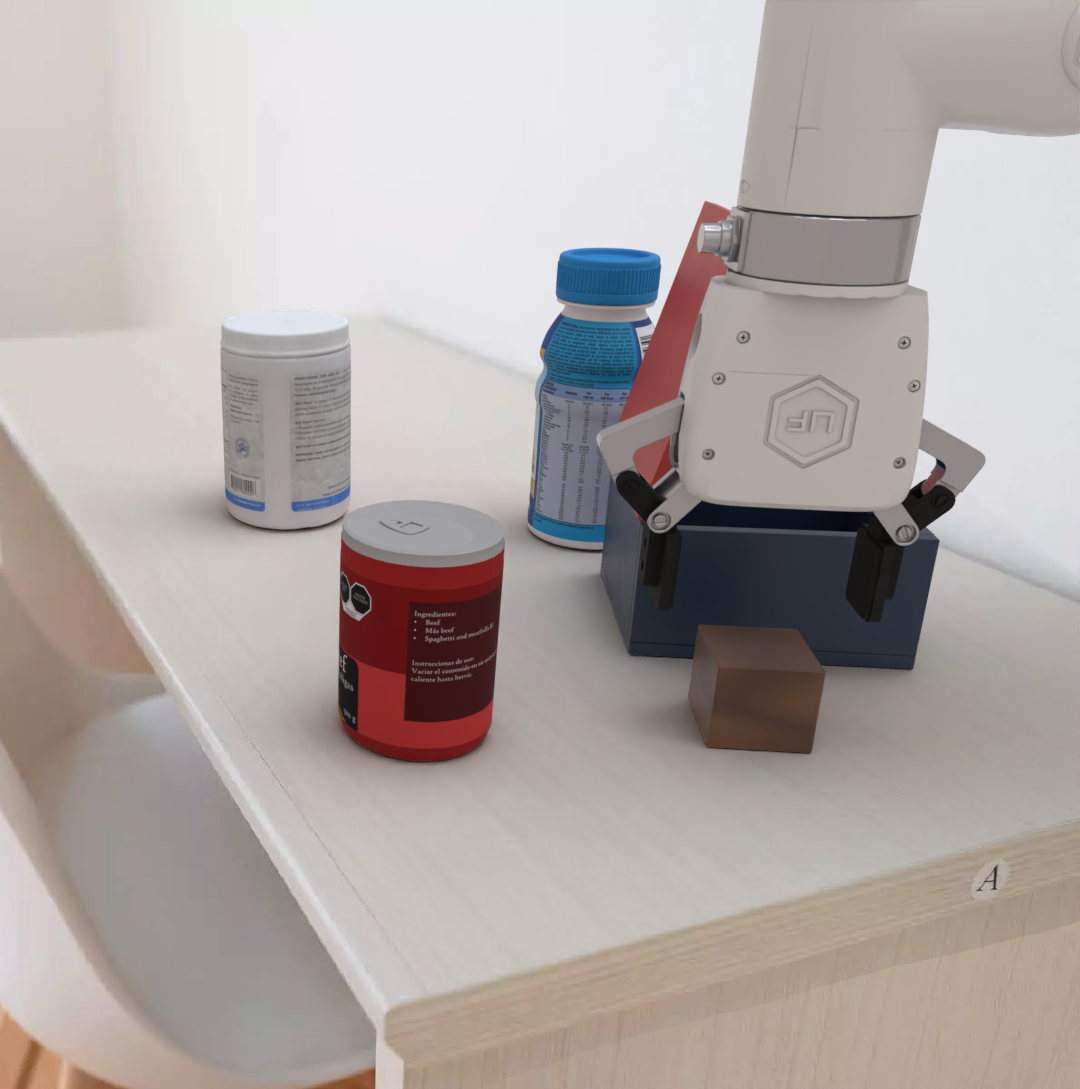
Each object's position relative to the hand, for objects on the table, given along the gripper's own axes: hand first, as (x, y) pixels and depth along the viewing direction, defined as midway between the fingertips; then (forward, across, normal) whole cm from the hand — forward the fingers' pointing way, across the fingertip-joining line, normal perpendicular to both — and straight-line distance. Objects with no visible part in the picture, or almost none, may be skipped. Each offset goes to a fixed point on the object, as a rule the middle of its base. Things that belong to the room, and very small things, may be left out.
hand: (759, 605), depth 61 cm
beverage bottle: (+7, -5, +28) cm, 29 cm away
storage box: (+7, +3, +14) cm, 16 cm away
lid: (-9, -2, +14) cm, 17 cm away
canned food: (+7, -17, -2) cm, 18 cm away
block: (+7, 0, 0) cm, 7 cm away
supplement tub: (+7, -27, +30) cm, 41 cm away
